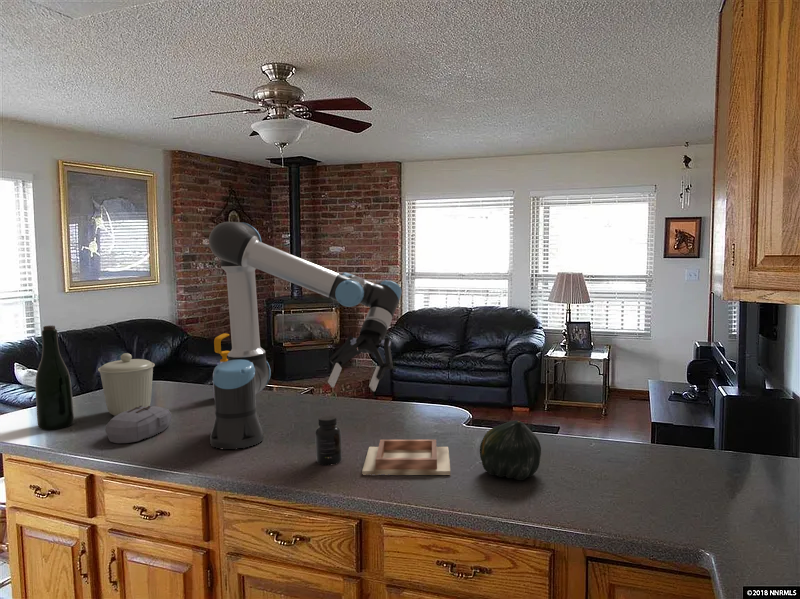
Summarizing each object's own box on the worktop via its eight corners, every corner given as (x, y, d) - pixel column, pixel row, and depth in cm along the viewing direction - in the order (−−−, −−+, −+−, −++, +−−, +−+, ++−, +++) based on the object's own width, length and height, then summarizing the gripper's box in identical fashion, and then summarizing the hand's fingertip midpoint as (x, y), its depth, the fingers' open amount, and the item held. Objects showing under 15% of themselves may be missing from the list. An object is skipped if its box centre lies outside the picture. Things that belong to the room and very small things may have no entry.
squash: (476, 440, 162) (482, 409, 151) (533, 442, 161) (543, 411, 150) (479, 491, 152) (485, 462, 141) (539, 493, 152) (550, 464, 141)
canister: (139, 403, 227) (135, 347, 225) (167, 410, 216) (164, 351, 214) (90, 415, 212) (86, 355, 210) (118, 423, 201) (114, 360, 199)
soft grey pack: (139, 424, 201) (93, 444, 182) (138, 399, 200) (92, 416, 181) (179, 427, 197) (136, 447, 178) (177, 401, 196) (135, 419, 177)
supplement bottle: (316, 457, 167) (315, 414, 165) (342, 456, 167) (340, 413, 166) (315, 466, 160) (314, 421, 159) (341, 465, 160) (340, 420, 159)
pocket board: (362, 475, 153) (361, 461, 153) (369, 450, 171) (369, 438, 171) (450, 475, 152) (450, 461, 152) (448, 450, 170) (448, 437, 169)
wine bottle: (55, 432, 193) (47, 328, 190) (30, 429, 197) (22, 327, 194) (81, 422, 203) (75, 324, 200) (57, 420, 207) (50, 323, 203)
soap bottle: (243, 397, 232) (240, 333, 229) (221, 402, 225) (218, 336, 223) (230, 394, 238) (227, 331, 236) (209, 398, 231) (206, 334, 229)
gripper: (417, 335, 180) (395, 397, 168) (345, 331, 191) (320, 389, 180) (408, 319, 175) (384, 382, 163) (335, 317, 186) (308, 375, 174)
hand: (350, 386), depth 171 cm, fingers open, 13 cm apart
